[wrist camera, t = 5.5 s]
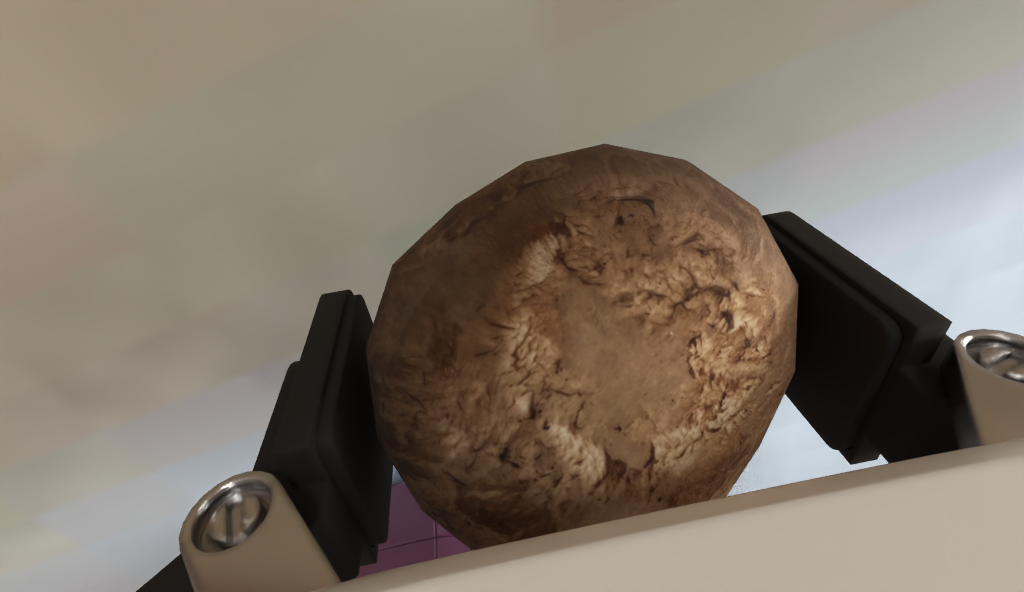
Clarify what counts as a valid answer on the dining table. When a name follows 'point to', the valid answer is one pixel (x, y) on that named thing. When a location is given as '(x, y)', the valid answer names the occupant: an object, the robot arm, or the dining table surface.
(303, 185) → the dining table surface
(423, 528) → the bowl
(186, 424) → the dining table surface
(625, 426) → the mushroom
